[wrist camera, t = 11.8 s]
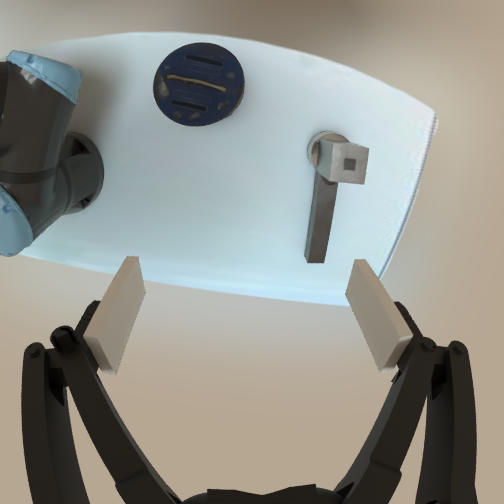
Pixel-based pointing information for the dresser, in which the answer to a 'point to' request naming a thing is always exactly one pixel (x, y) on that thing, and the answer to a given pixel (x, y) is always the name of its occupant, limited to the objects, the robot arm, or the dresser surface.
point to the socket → (342, 161)
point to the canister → (199, 84)
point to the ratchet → (320, 204)
